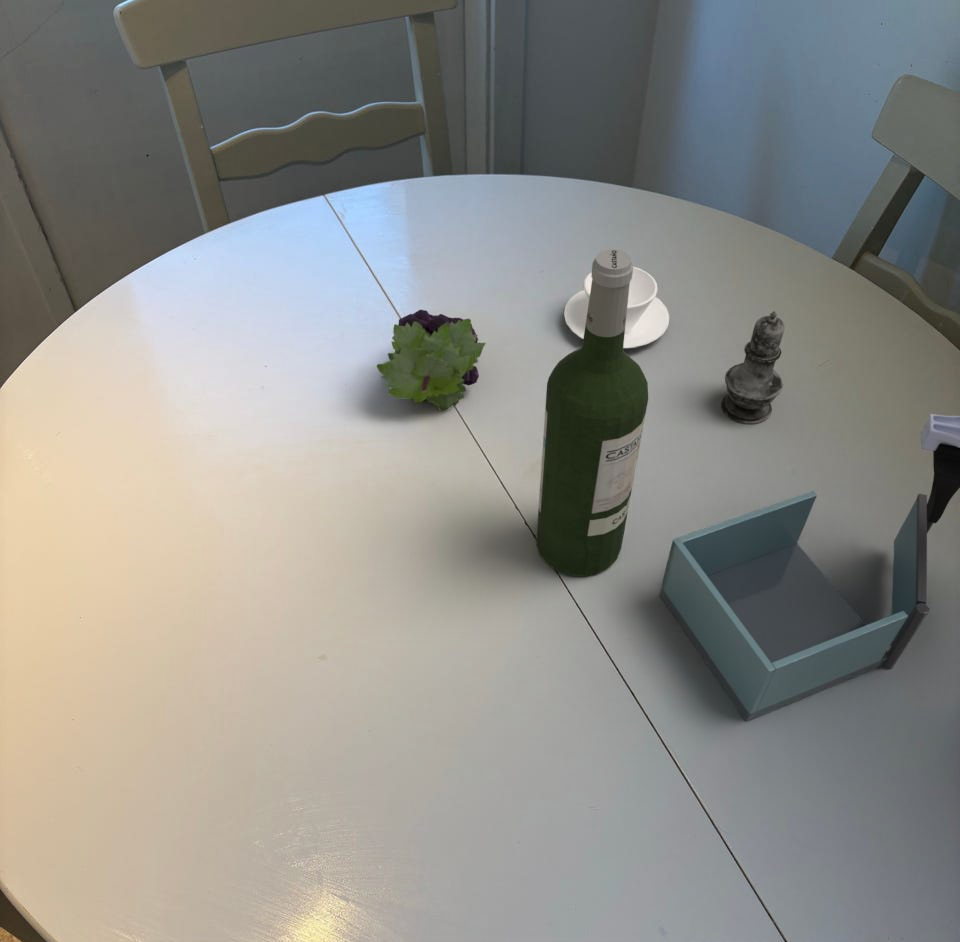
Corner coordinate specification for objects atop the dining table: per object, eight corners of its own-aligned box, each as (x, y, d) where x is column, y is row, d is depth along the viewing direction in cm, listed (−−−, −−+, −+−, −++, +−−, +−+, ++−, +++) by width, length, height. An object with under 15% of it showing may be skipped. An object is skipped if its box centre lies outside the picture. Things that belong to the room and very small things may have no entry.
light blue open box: (896, 666, 77) (932, 610, 71) (749, 727, 74) (774, 674, 67) (794, 545, 85) (819, 485, 79) (658, 594, 82) (673, 536, 76)
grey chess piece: (708, 395, 98) (732, 299, 89) (758, 384, 99) (786, 288, 90) (734, 431, 95) (761, 335, 86) (784, 419, 96) (817, 323, 87)
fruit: (472, 374, 105) (473, 438, 93) (380, 361, 104) (369, 423, 92) (487, 288, 99) (490, 343, 87) (390, 272, 98) (379, 326, 86)
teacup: (666, 297, 109) (673, 257, 105) (668, 361, 102) (676, 321, 98) (565, 291, 110) (569, 251, 106) (560, 354, 103) (563, 314, 99)
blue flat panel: (912, 650, 76) (942, 606, 71) (889, 645, 77) (917, 600, 72) (914, 544, 83) (941, 497, 78) (893, 540, 84) (918, 493, 79)
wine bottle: (614, 585, 83) (665, 301, 59) (528, 569, 84) (545, 284, 60) (626, 521, 87) (678, 234, 64) (544, 507, 88) (566, 220, 65)
